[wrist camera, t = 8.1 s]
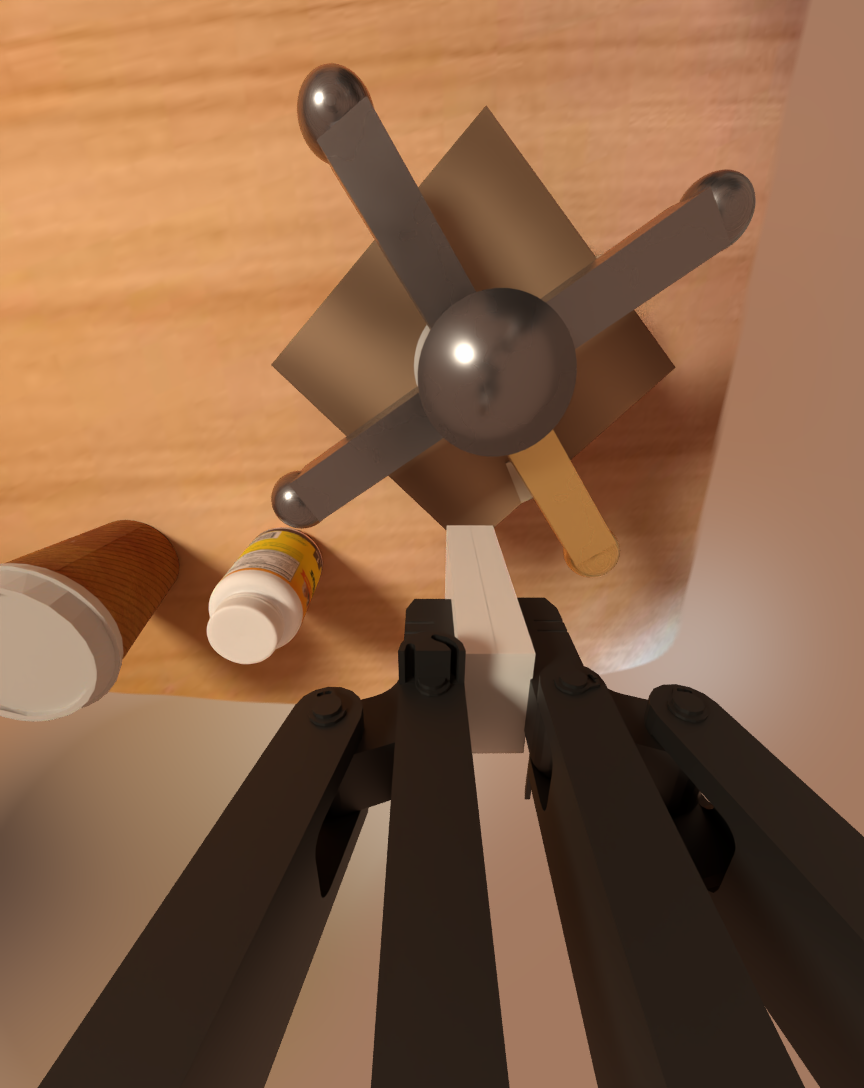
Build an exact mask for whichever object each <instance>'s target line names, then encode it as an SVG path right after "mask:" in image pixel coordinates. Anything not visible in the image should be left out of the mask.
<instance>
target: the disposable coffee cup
mask: <svg viewBox="0 0 864 1088" xmlns="http://www.w3.org/2000/svg"><path fill="white" fill-rule="evenodd" d="M178 572H179V561H178V557H177V554H176V551H175V550H174V548H173V546H172V545H171V543H170V542H169V541H168V540H167V539H166V537H165V536H164V535H162V534H161V533H160V532H159V531H157V530H156V529H154V528H152V527H150V526H148V525H146V524H144V523H140V522H136V521H130V520H120V521H115V522H112V523H109V524H106V525H104V526H101V527H98V528H96V529H93V530H91V531H88V532H85V533H83V534H80V535H77V536H75V537H72V538H69V539H67V540H64V541H61V542H59V543H56V544H54V545H51V546H49V547H46V548H43V549H41V550H38V551H35V552H33V553H30V554H27V555H25V556H22V557H20V558H17V559H15V560H12V561H10V562H7V563H4V564H0V716H3V717H6V718H11V719H16V720H23V721H49V720H53V719H57V718H61V717H64V716H67V715H70V714H72V713H74V712H75V711H77V710H79V709H80V708H83V707H86V706H89V705H90V704H92V703H94V702H96V701H98V700H99V699H101V698H102V697H103V696H104V695H105V694H107V693H108V691H109V690H110V689H111V687H112V686H113V685H114V683H115V682H116V681H117V677H118V674H119V671H120V668H121V665H122V659H123V658H124V657H125V655H126V654H127V652H128V651H129V649H130V648H131V646H132V645H133V643H134V642H135V640H136V639H137V637H138V636H139V634H140V633H141V631H142V630H143V628H144V627H145V625H146V624H147V622H148V621H149V619H150V618H151V616H152V615H153V613H154V612H155V610H156V609H157V607H158V606H159V604H160V603H161V601H162V600H163V598H164V597H165V595H166V594H167V592H168V591H169V589H170V588H171V586H172V585H173V584H174V582H175V581H176V579H177V576H178Z"/></svg>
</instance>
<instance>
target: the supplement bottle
mask: <svg viewBox="0 0 864 1088" xmlns="http://www.w3.org/2000/svg"><path fill="white" fill-rule="evenodd" d="M322 568H323V561H322V556H321V553H320V550H319V548H318V547H317V545H316V544H315V542H314V541H313V540H312V539H311V538H310V537H308V536H307V535H306V534H304V533H302V532H300V531H298V530H295V529H291V528H284V527H280V528H273V529H269V530H267V531H265V532H263V533H261V534H260V535H259V536H257V537H256V538H255V539H254V540H253V541H252V543H251V544H250V545H249V546H248V547H247V549H246V550H245V551H244V552H243V554H242V555H241V556H240V557H239V558H238V560H237V561H236V562H235V563H234V565H233V566H232V567H231V568H230V569H229V571H228V572H227V573H226V574H225V576H224V577H223V578H222V579H221V581H220V582H219V583H218V584H217V586H216V587H215V589H214V590H213V592H212V594H211V597H210V601H209V615H210V619H209V622H208V625H207V637H208V640H209V642H210V644H211V646H212V647H213V649H214V650H215V651H216V652H217V653H218V654H219V655H221V656H222V657H224V658H226V659H227V660H230V661H232V662H235V663H240V664H254V663H258V662H261V661H263V660H265V659H267V658H268V657H269V656H271V654H272V653H273V652H274V651H275V649H278V648H280V647H282V646H284V645H285V644H287V643H288V642H289V641H291V640H292V638H293V637H294V636H295V635H296V633H297V632H298V630H299V628H300V626H301V624H302V621H303V619H304V616H305V614H306V612H307V609H308V607H309V604H310V601H311V599H312V596H313V594H314V591H315V589H316V586H317V584H318V581H319V579H320V576H321V573H322Z"/></svg>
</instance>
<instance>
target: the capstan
mask: <svg viewBox="0 0 864 1088" xmlns="http://www.w3.org/2000/svg"><path fill="white" fill-rule="evenodd" d="M297 114H298V122H299V126H300V130H301V132H302V135H303V137H304V139H305V141H306V143H307V145H308V146H309V148H310V149H311V150H312V151H313V153H314V154H315V155H316V156H317V157H318V158H320V159H321V160H322V161H324V162H326V163H328V164H329V165H330V167H331V169H332V171H333V172H334V174H335V175H336V177H337V179H338V180H339V182H340V184H341V185H342V187H343V189H344V190H345V192H346V193H347V195H348V197H349V198H350V200H351V202H352V203H353V205H354V206H355V208H356V210H357V211H358V213H359V215H360V216H361V218H362V220H363V221H364V223H365V224H366V226H367V228H368V229H369V231H370V233H371V234H372V236H373V238H374V239H375V241H376V242H377V244H378V246H379V247H380V249H381V251H382V252H383V254H384V256H385V257H386V259H387V260H388V262H389V264H390V265H391V267H392V269H393V270H394V272H395V273H396V275H397V277H398V278H399V280H400V282H401V283H402V285H403V287H404V288H405V290H406V291H407V293H408V295H409V296H410V298H411V300H412V301H413V303H414V305H415V306H416V308H417V309H418V311H419V313H420V314H421V316H422V318H423V319H424V321H425V322H426V324H427V326H428V327H429V329H430V332H429V333H428V335H427V337H426V339H425V342H424V344H423V347H422V350H421V354H420V358H419V364H418V386H417V387H416V388H414V389H413V390H411V391H410V392H409V393H407V394H406V395H404V396H403V397H402V398H400V399H399V400H397V401H396V402H394V403H393V404H392V405H390V406H389V407H387V408H386V409H385V410H383V411H382V412H380V413H379V414H378V415H376V416H375V417H373V418H372V419H371V420H369V421H368V422H366V423H365V424H364V425H362V426H361V427H359V428H358V429H357V430H355V431H354V432H352V433H351V434H349V435H348V436H347V437H345V438H344V439H342V440H341V441H340V442H338V443H337V444H335V445H334V446H333V447H331V448H330V449H328V450H327V451H326V452H324V453H323V454H321V455H320V456H319V457H317V458H316V459H314V460H313V461H312V462H310V463H309V464H307V465H306V466H305V467H304V468H303V469H302V470H301V471H294V472H290V473H288V474H286V475H284V476H283V477H282V478H280V479H279V480H278V481H277V483H276V484H275V486H274V488H273V491H272V496H271V502H272V507H273V510H274V512H275V514H276V515H277V517H278V518H279V519H280V520H281V521H282V522H284V523H285V524H287V525H289V526H291V527H294V528H309V527H312V526H315V525H317V524H318V523H320V522H321V521H322V520H323V519H324V518H326V517H327V516H329V515H330V514H332V513H333V512H335V511H336V510H338V509H339V508H341V507H342V506H344V505H345V504H346V503H348V502H349V501H351V500H352V499H354V498H355V497H357V496H358V495H360V494H361V493H363V492H364V491H366V490H367V489H369V488H370V487H372V486H373V485H375V484H376V483H378V482H379V481H381V480H382V479H384V478H385V477H387V476H388V475H389V474H391V473H392V472H394V471H395V470H397V469H398V468H400V467H401V466H403V465H404V464H406V463H407V462H409V461H410V460H412V459H413V458H415V457H416V456H418V455H419V454H421V453H422V452H424V451H425V450H427V449H428V448H430V447H431V446H432V445H434V444H435V443H437V442H438V441H440V440H441V439H443V438H444V439H445V440H447V441H448V442H449V443H451V444H452V445H454V446H455V447H457V448H459V449H461V450H463V451H466V452H468V453H471V454H475V455H479V456H487V457H499V456H506V455H507V456H508V458H509V460H510V461H511V463H512V465H513V466H514V468H515V470H516V471H517V473H518V474H519V476H520V478H521V479H522V481H523V483H524V484H525V486H526V488H527V489H528V491H529V492H530V494H531V496H532V497H533V499H534V501H535V502H536V504H537V505H538V507H539V509H540V510H541V512H542V514H543V515H544V517H545V519H546V520H547V522H548V523H549V525H550V527H551V528H552V530H553V532H554V533H555V535H556V537H557V538H558V540H559V541H560V543H561V544H562V546H563V555H564V559H565V561H566V563H567V565H568V566H569V568H570V569H571V570H572V571H574V572H575V573H576V574H578V575H580V576H583V577H588V578H595V577H600V576H603V575H605V574H607V573H608V572H610V571H611V570H612V569H613V568H614V567H615V565H616V564H617V562H618V559H619V555H620V547H619V543H618V540H617V538H616V537H615V535H614V534H613V533H612V532H611V531H610V530H609V529H608V527H607V525H606V524H605V522H604V520H603V518H602V516H601V515H600V513H599V511H598V509H597V507H596V506H595V504H594V502H593V500H592V498H591V497H590V495H589V493H588V491H587V490H586V488H585V486H584V484H583V482H582V481H581V479H580V477H579V475H578V473H577V472H576V470H575V468H574V466H573V464H572V463H571V461H570V459H569V457H568V455H567V454H566V452H565V450H564V448H563V447H562V445H561V443H560V441H559V439H558V438H557V436H556V434H555V432H554V430H553V428H554V427H555V426H556V425H557V424H558V423H559V421H560V420H561V418H562V417H563V415H564V413H565V412H566V410H567V408H568V406H569V403H570V401H571V398H572V395H573V392H574V388H575V384H576V375H577V359H576V352H575V349H576V348H578V347H579V346H581V345H582V344H584V343H585V342H587V341H588V340H590V339H591V338H593V337H594V336H596V335H597V334H599V333H600V332H601V331H603V330H604V329H606V328H607V327H609V326H610V325H612V324H613V323H615V322H616V321H618V320H619V319H621V318H622V317H624V316H625V315H627V314H628V313H630V312H631V311H633V310H634V309H636V308H637V307H639V306H640V305H642V304H643V303H644V302H646V301H647V300H649V299H650V298H652V297H653V296H655V295H656V294H658V293H659V292H661V291H662V290H664V289H665V288H667V287H668V286H670V285H671V284H673V283H674V282H676V281H677V280H679V279H680V278H682V277H683V276H685V275H686V274H687V273H689V272H690V271H692V270H693V269H695V268H696V267H698V266H699V265H701V264H702V263H704V262H705V261H707V260H708V259H710V258H711V257H713V256H714V255H716V254H717V253H719V252H720V251H723V250H724V249H726V248H728V247H729V246H731V245H732V244H733V243H734V242H736V241H737V240H738V239H739V238H740V236H741V235H742V234H743V233H744V231H745V230H746V229H747V227H748V225H749V223H750V221H751V219H752V216H753V213H754V209H755V192H754V188H753V186H752V184H751V182H750V181H749V179H748V178H747V177H746V176H744V175H743V174H741V173H740V172H737V171H734V170H719V171H715V172H712V173H709V174H707V175H705V176H703V177H702V178H700V179H699V180H697V181H696V182H695V183H694V184H693V185H692V186H691V187H690V188H689V189H688V190H687V191H686V192H685V194H684V195H683V197H682V198H681V200H680V202H679V203H677V204H675V205H673V206H671V207H669V208H667V209H666V210H665V211H663V212H662V213H660V214H659V215H658V216H656V217H655V218H653V219H652V220H650V221H649V222H648V223H646V224H645V225H643V226H642V227H641V228H639V229H638V230H636V231H635V232H634V233H632V234H631V235H629V236H628V237H627V238H625V239H624V240H622V241H621V242H620V243H618V244H617V245H615V246H614V247H613V248H611V249H610V250H608V251H607V252H605V253H604V254H603V255H601V256H600V257H598V258H597V259H596V260H594V261H593V262H591V263H590V264H589V265H587V266H586V267H584V268H583V269H582V270H580V271H579V272H577V273H576V274H575V275H573V276H572V277H570V278H569V279H568V280H566V281H565V282H563V283H562V284H560V285H559V286H558V287H556V288H555V289H553V290H552V291H551V292H549V293H548V294H546V295H545V296H544V297H542V298H541V299H540V298H538V297H536V296H534V295H532V294H530V293H528V292H524V291H521V290H518V289H511V288H492V289H486V290H482V291H479V292H476V291H475V289H474V287H473V285H472V283H471V282H470V280H469V278H468V276H467V275H466V273H465V271H464V269H463V267H462V266H461V264H460V262H459V260H458V258H457V257H456V255H455V253H454V251H453V249H452V248H451V246H450V244H449V242H448V240H447V239H446V237H445V235H444V233H443V232H442V230H441V228H440V226H439V224H438V223H437V221H436V219H435V217H434V215H433V214H432V212H431V210H430V208H429V206H428V205H427V203H426V201H425V199H424V198H423V196H422V194H421V192H420V190H419V189H418V187H417V185H416V183H415V181H414V180H413V178H412V176H411V174H410V172H409V171H408V169H407V167H406V165H405V163H404V162H403V160H402V158H401V156H400V155H399V153H398V151H397V149H396V147H395V146H394V144H393V142H392V140H391V138H390V137H389V135H388V133H387V131H386V129H385V128H384V126H383V124H382V122H381V120H380V119H379V117H378V115H377V113H376V112H375V110H374V106H373V102H372V100H371V97H370V94H369V92H368V90H367V88H366V86H365V85H364V83H363V82H362V81H361V79H360V78H359V77H358V76H357V75H356V74H355V73H354V72H353V71H351V70H350V69H348V68H346V67H344V66H342V65H339V64H332V63H329V64H323V65H320V66H318V67H316V68H315V69H313V70H312V71H311V72H310V73H309V74H308V75H307V77H306V78H305V80H304V81H303V83H302V86H301V88H300V91H299V95H298V101H297Z"/></svg>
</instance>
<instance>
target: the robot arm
mask: <svg viewBox="0 0 864 1088" xmlns="http://www.w3.org/2000/svg"><path fill="white" fill-rule="evenodd" d="M398 664H399V680H398V682H397V683H396V684H395V685H394V686H393V687H392V688H391V689H389V690H388V691H386V692H384V693H382V694H379V695H377V696H374V697H370V698H366V699H362V700H360V698H359V697H358V696H357V695H356V694H355V693H354V692H353V691H350V690H347V689H345V688H342V687H326V688H322V689H318V690H315V691H313V692H311V693H309V694H307V695H306V696H304V697H303V698H302V699H301V700H300V701H299V702H298V703H297V704H296V705H295V706H294V708H293V710H292V711H291V712H290V714H289V715H288V717H287V718H286V720H285V721H284V723H283V724H282V726H281V727H280V729H279V730H278V732H277V733H276V735H275V736H274V738H273V739H272V740H271V742H270V743H269V745H268V746H267V748H266V749H265V751H264V752H263V754H262V755H261V757H260V758H259V760H258V761H257V763H256V765H255V766H254V767H253V769H252V770H251V772H250V773H249V775H248V776H247V778H246V779H245V781H244V782H243V784H242V785H241V786H240V788H239V790H238V791H237V792H236V794H235V795H234V797H233V799H232V800H231V801H230V803H229V804H228V806H227V807H226V809H225V810H224V812H223V813H222V815H221V816H220V818H219V819H218V821H217V822H216V824H215V825H214V827H213V828H212V830H211V831H210V833H209V834H208V836H207V837H206V838H205V840H204V841H203V843H202V845H201V846H200V847H199V849H198V851H197V852H196V854H195V855H194V856H193V858H192V859H191V861H190V862H189V864H188V865H187V867H186V868H185V870H184V871H183V873H182V874H181V876H180V877H179V879H178V880H177V882H176V883H175V885H174V886H173V887H172V889H171V890H170V892H169V894H168V895H167V896H166V898H165V899H164V901H163V902H162V904H161V906H160V907H159V908H158V910H157V911H156V913H155V914H154V916H153V917H152V919H151V920H150V922H149V923H148V925H147V926H146V928H145V929H144V931H143V932H142V933H141V935H140V937H139V938H138V940H137V941H136V942H135V944H134V945H133V947H132V948H131V950H130V951H129V953H128V955H127V956H126V957H125V959H124V960H123V962H122V963H121V965H120V966H119V968H118V969H117V971H116V972H115V974H114V975H113V977H112V978H111V980H110V981H109V982H108V984H107V985H106V987H105V989H104V990H103V991H102V993H101V994H100V996H99V997H98V999H97V1000H96V1002H95V1003H94V1005H93V1007H92V1008H91V1009H90V1011H89V1012H88V1014H87V1015H86V1017H85V1018H84V1020H83V1021H82V1023H81V1024H80V1026H79V1027H78V1029H77V1030H76V1032H75V1033H74V1034H73V1036H72V1038H71V1039H70V1040H69V1042H68V1043H67V1045H66V1046H65V1048H64V1049H63V1051H62V1052H61V1054H60V1055H59V1057H58V1058H57V1060H56V1061H55V1063H54V1064H53V1066H52V1067H51V1069H50V1070H49V1072H48V1073H47V1075H46V1076H45V1078H44V1079H43V1080H42V1082H41V1083H40V1085H39V1087H38V1088H264V1086H265V1084H266V1081H267V1078H268V1076H269V1073H270V1070H271V1068H272V1065H273V1062H274V1060H275V1057H276V1054H277V1052H278V1049H279V1047H280V1044H281V1041H282V1039H283V1036H284V1033H285V1031H286V1028H287V1025H288V1023H289V1020H290V1017H291V1015H292V1012H293V1009H294V1006H295V1004H296V1001H297V999H298V996H299V993H300V991H301V988H302V985H303V983H304V980H305V978H306V975H307V972H308V970H309V967H310V964H311V962H312V959H313V956H314V954H315V951H316V948H317V946H318V943H319V940H320V938H321V935H322V932H323V930H324V927H325V924H326V922H327V919H328V917H329V914H330V911H331V909H332V906H333V903H334V901H335V898H336V895H337V893H338V890H339V887H340V885H341V882H342V879H343V877H344V874H345V871H346V869H347V866H348V863H349V861H350V858H351V855H352V853H353V850H354V847H355V845H356V842H357V839H358V837H359V834H360V831H361V829H362V826H363V824H364V821H365V818H366V815H367V813H368V808H369V807H371V806H374V805H377V804H380V803H383V802H386V801H389V800H391V807H390V822H389V836H388V851H387V864H386V879H385V893H384V907H383V922H382V936H381V951H380V965H379V981H378V994H377V1008H376V1023H375V1038H374V1051H373V1065H372V1080H371V1088H509V1080H508V1071H507V1062H506V1053H505V1044H504V1036H503V1026H502V1018H501V1008H500V999H499V990H498V982H497V972H496V963H495V954H494V945H493V936H492V927H491V919H490V909H489V901H488V892H487V882H486V874H485V864H484V856H483V846H482V838H481V829H480V820H479V810H478V801H477V792H476V784H475V775H474V766H473V757H472V753H523V752H524V744H525V736H526V740H527V745H528V749H529V753H530V754H529V763H528V770H527V777H526V785H525V799H530V795H531V790H532V794H533V799H534V803H535V808H536V812H537V816H538V821H539V826H540V830H541V835H542V839H543V844H544V848H545V852H546V857H547V862H548V866H549V870H550V875H551V879H552V884H553V888H554V893H555V897H556V902H557V906H558V910H559V915H560V919H561V924H562V928H563V933H564V937H565V942H566V946H567V951H568V956H569V960H570V964H571V968H572V973H573V978H574V982H575V987H576V991H577V995H578V1000H579V1004H580V1009H581V1014H582V1018H583V1022H584V1027H585V1031H586V1036H587V1040H588V1045H589V1049H590V1054H591V1058H592V1063H593V1067H594V1072H595V1076H596V1080H597V1085H598V1088H805V1087H804V1085H803V1083H802V1081H801V1079H800V1077H799V1075H798V1073H797V1071H796V1069H795V1067H794V1065H793V1063H792V1061H791V1058H790V1056H789V1054H788V1053H787V1051H786V1048H785V1046H784V1044H783V1042H782V1040H781V1038H780V1036H779V1034H778V1032H777V1030H776V1028H775V1026H774V1024H773V1022H772V1020H771V1018H770V1016H769V1014H768V1012H769V1013H770V1015H771V1016H772V1017H773V1019H774V1020H775V1022H776V1023H777V1025H778V1026H779V1028H780V1029H781V1031H782V1032H783V1033H784V1035H785V1037H786V1038H787V1039H788V1041H789V1042H790V1044H791V1045H792V1047H793V1048H794V1049H795V1051H796V1053H797V1054H798V1056H799V1057H800V1058H801V1060H802V1061H803V1063H804V1064H805V1066H806V1067H807V1069H808V1070H809V1072H810V1073H811V1075H812V1076H813V1077H814V1079H815V1080H816V1082H817V1083H818V1085H819V1086H820V1088H864V837H863V836H862V835H861V834H860V833H859V832H858V831H857V830H856V829H855V828H853V827H852V826H851V825H850V824H849V823H848V822H847V821H846V820H845V819H844V818H842V817H841V816H840V815H839V814H838V813H837V812H836V811H835V810H834V809H833V808H831V807H830V806H829V805H828V804H827V803H826V802H825V801H824V800H823V799H821V798H820V797H819V796H818V795H817V794H816V793H815V792H814V791H813V790H812V789H811V788H809V787H808V786H807V785H806V784H805V783H804V782H803V781H802V780H801V779H799V777H797V776H796V775H795V774H794V773H793V772H792V771H791V770H790V769H789V768H788V767H786V766H785V765H784V764H783V763H782V762H781V761H780V760H779V759H777V757H775V756H774V755H773V754H772V753H771V752H770V751H769V750H768V749H767V748H766V747H764V746H763V745H762V744H761V743H760V742H759V741H758V740H757V739H756V738H755V737H753V736H752V735H751V734H750V733H749V732H748V731H747V730H746V729H745V728H743V727H742V726H741V725H740V724H739V723H738V722H737V721H736V720H735V719H734V718H732V716H730V715H729V714H728V713H727V712H726V711H725V710H724V709H722V707H720V706H719V705H718V704H717V703H716V702H715V701H713V700H712V699H710V698H709V697H708V696H706V695H705V694H703V693H701V692H699V691H697V690H694V689H692V688H690V687H686V686H681V685H676V684H672V685H661V686H659V687H657V688H654V689H653V691H652V692H651V694H650V695H649V699H648V700H646V699H641V698H637V697H633V696H628V695H624V694H620V693H617V692H614V691H612V690H610V689H608V688H607V686H606V684H605V683H604V681H603V680H602V679H601V677H600V676H599V675H598V674H597V673H595V672H594V671H592V670H591V669H589V668H587V667H584V666H583V663H582V661H581V659H580V657H579V655H578V653H577V650H576V648H575V646H574V644H573V642H572V640H571V637H570V635H569V633H568V632H567V629H566V627H565V624H564V622H562V618H561V616H560V614H559V611H558V609H557V608H556V607H555V606H554V605H553V604H551V603H550V602H549V601H548V600H547V599H546V598H517V596H516V593H515V590H514V587H513V584H512V581H511V578H510V575H509V572H508V569H507V566H506V563H505V560H504V557H503V554H502V551H501V548H500V545H499V542H498V539H497V536H496V533H495V530H494V527H493V526H485V525H447V530H446V576H445V599H414V600H413V602H412V603H411V604H410V605H409V607H408V608H407V609H406V620H405V634H404V641H403V642H402V643H401V645H400V647H399V650H398ZM701 793H702V794H703V795H704V796H705V797H706V798H707V799H708V801H709V802H708V801H707V800H706V799H705V797H704V796H703V795H702V794H701ZM765 1007H766V1008H765ZM766 1009H767V1010H768V1012H767V1010H766Z"/></svg>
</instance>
